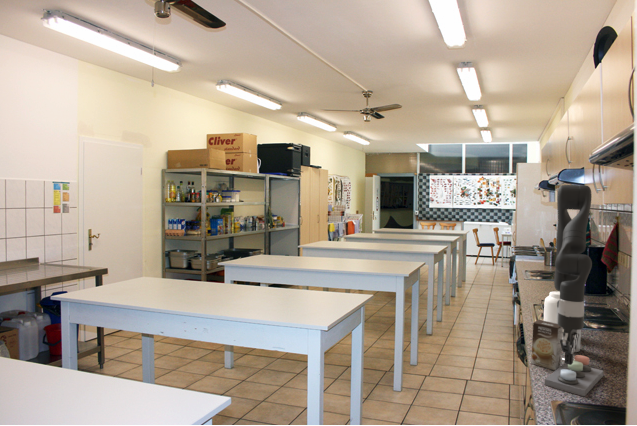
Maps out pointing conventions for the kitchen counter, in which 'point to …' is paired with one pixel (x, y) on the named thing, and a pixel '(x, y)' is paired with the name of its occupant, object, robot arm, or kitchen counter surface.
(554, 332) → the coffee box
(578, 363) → the sage button
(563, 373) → the white button
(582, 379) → the panel
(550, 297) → the white bottle
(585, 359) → the brick button
